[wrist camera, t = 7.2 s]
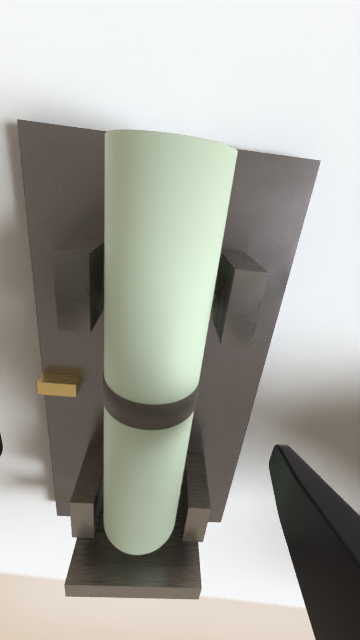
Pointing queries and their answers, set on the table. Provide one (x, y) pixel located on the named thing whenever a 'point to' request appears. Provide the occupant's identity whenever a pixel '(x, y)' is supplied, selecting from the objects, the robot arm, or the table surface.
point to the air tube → (156, 318)
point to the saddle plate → (88, 346)
